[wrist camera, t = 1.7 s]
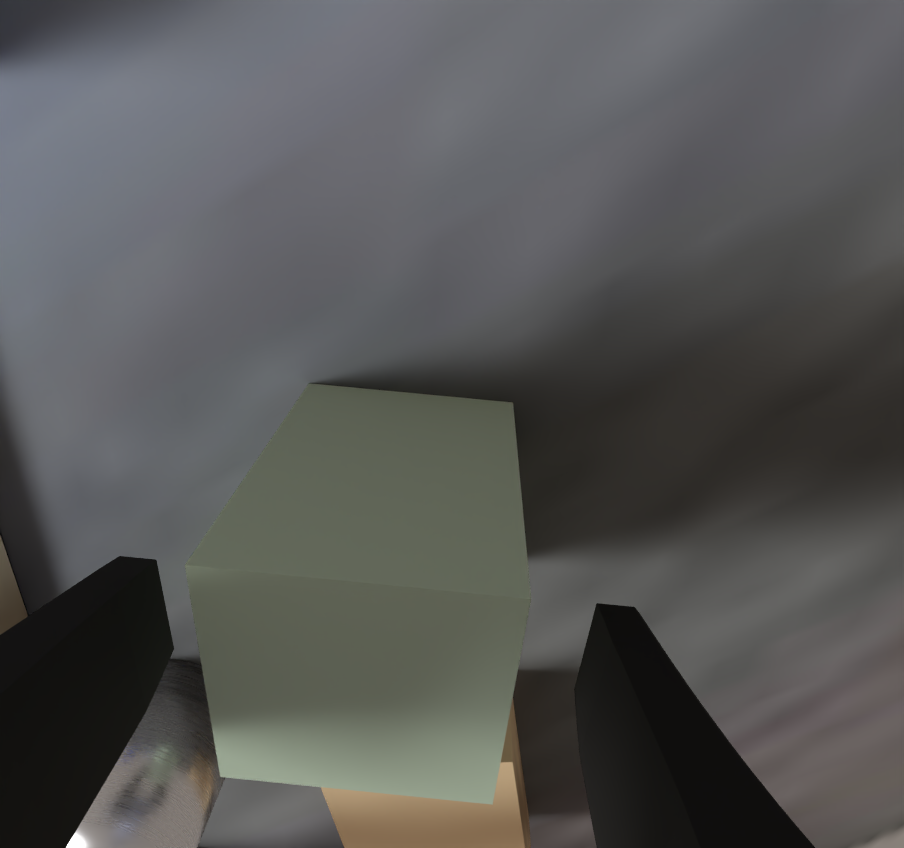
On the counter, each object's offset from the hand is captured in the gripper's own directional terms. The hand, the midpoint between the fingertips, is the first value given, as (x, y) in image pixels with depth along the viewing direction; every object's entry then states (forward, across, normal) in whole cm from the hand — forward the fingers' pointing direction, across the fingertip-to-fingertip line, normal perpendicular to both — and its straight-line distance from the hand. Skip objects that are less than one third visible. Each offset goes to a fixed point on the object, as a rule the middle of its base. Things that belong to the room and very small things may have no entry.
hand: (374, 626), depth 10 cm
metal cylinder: (+5, +6, +9) cm, 12 cm away
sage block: (+5, 0, 0) cm, 5 cm away
